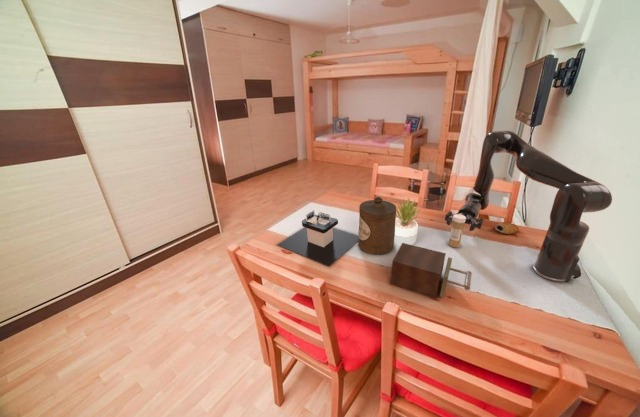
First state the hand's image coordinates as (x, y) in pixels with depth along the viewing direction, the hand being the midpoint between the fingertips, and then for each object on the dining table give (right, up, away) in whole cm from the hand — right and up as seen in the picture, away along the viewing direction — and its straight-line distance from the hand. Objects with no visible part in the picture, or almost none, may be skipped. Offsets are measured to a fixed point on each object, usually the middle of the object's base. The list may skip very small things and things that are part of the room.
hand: (459, 226), depth 109 cm
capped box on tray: (-58, -7, +8) cm, 59 cm away
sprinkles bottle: (-2, -8, +1) cm, 8 cm away
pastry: (+26, -3, +10) cm, 28 cm away
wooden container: (-34, -8, +3) cm, 36 cm away
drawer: (-20, -18, -21) cm, 34 cm away
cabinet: (-25, -18, -18) cm, 35 cm away
